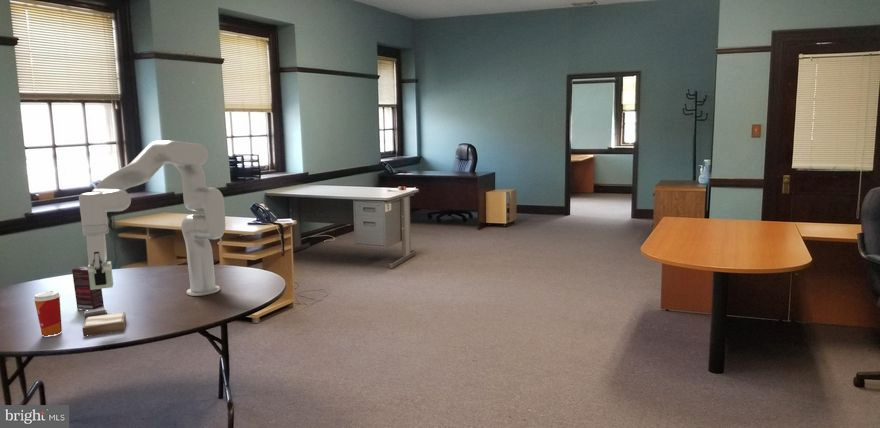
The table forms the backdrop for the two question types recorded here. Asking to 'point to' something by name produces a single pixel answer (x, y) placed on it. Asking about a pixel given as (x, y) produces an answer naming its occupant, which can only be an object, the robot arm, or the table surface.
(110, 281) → the carton
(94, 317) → the wooden tray
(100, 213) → the robot arm
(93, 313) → the gray box
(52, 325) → the paper cup
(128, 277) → the table surface
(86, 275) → the supplement box
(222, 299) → the table surface
